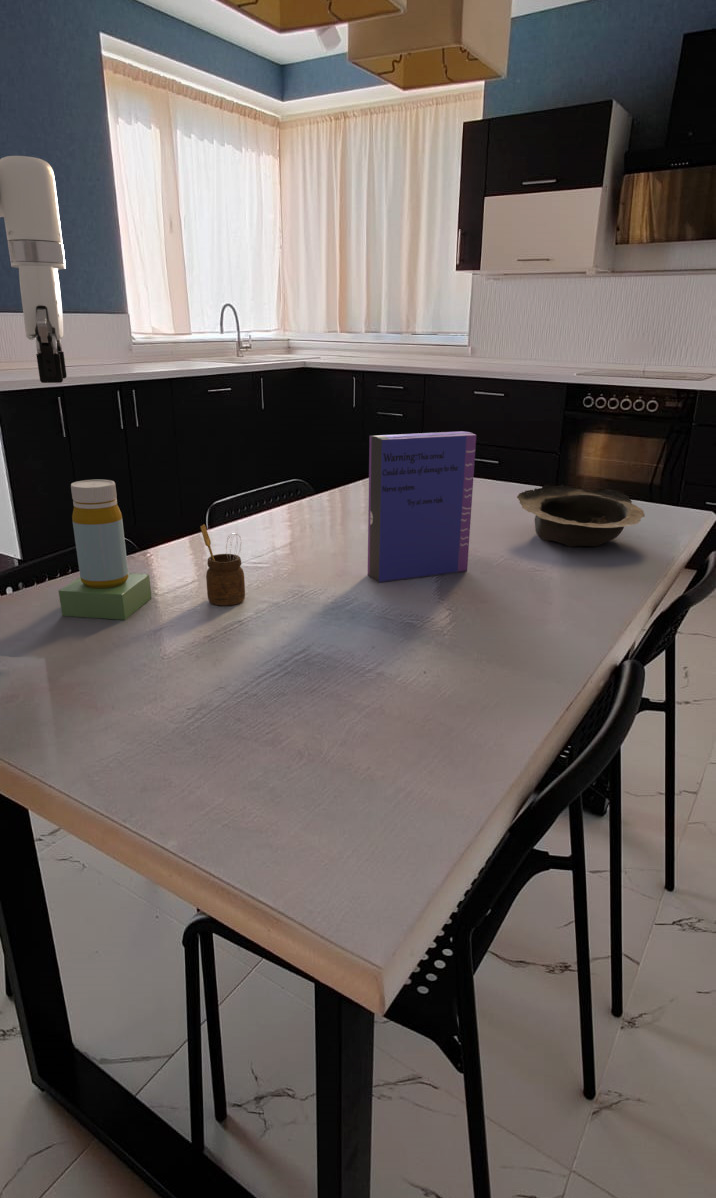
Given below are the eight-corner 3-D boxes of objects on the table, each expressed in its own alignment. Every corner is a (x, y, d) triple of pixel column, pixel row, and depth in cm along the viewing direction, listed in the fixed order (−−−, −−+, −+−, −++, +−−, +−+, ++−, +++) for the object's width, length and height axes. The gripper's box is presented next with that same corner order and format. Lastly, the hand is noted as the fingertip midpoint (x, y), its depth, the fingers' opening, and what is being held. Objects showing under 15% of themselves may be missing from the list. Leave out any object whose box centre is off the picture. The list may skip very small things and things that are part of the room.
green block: (62, 615, 115) (58, 590, 114) (92, 594, 124) (89, 570, 123) (125, 620, 114) (122, 594, 112) (151, 598, 123) (149, 574, 122)
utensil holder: (238, 608, 119) (234, 532, 114) (200, 605, 120) (194, 529, 116) (250, 596, 125) (247, 522, 120) (214, 593, 126) (209, 520, 121)
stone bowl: (554, 517, 176) (561, 476, 172) (657, 546, 161) (668, 502, 157) (491, 534, 160) (498, 490, 156) (600, 568, 144) (611, 520, 140)
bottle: (124, 573, 122) (113, 477, 116) (133, 585, 116) (122, 485, 110) (78, 578, 119) (64, 481, 113) (85, 591, 113) (71, 489, 107)
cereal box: (453, 564, 142) (461, 430, 132) (467, 571, 138) (476, 433, 128) (367, 574, 136) (369, 434, 126) (378, 582, 131) (381, 438, 122)
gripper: (16, 260, 120) (33, 377, 126) (2, 251, 104) (22, 384, 111) (67, 261, 121) (81, 376, 128) (60, 253, 106) (77, 384, 113)
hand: (54, 380), depth 120 cm, fingers open, 9 cm apart
